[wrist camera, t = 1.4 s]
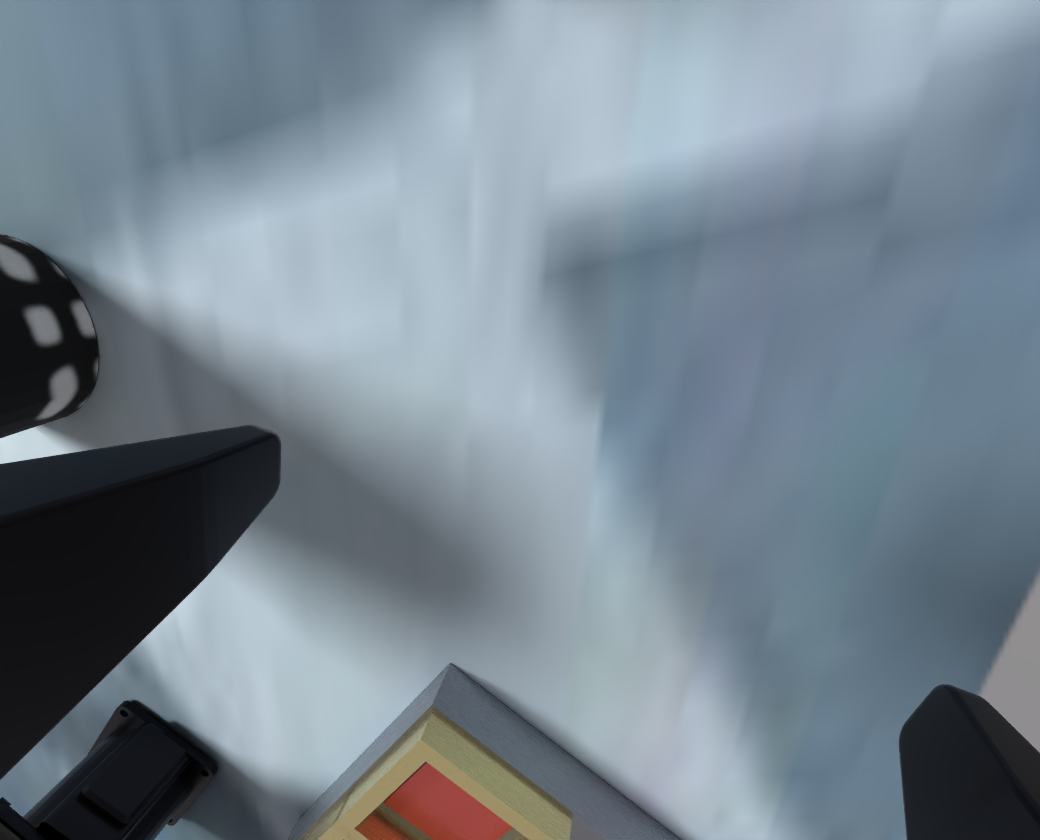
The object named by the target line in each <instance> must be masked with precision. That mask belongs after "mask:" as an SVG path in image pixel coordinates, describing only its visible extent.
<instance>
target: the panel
mask: <svg viewBox="0 0 1040 840" xmlns="http://www.w3.org/2000/svg"><path fill="white" fill-rule="evenodd" d="M287 840H680V839H678V838H677V837H676V836H675V835H673V834H672V833H671V832H669V831H668V830H667V829H665V828H664V827H663V826H662V825H660V824H659V823H658V822H656V821H655V820H654V819H652V818H651V817H650V816H649V815H647V814H646V813H645V812H643V811H642V810H641V809H639V808H638V807H637V806H636V805H634V804H633V803H632V802H630V801H629V800H628V799H626V798H625V797H624V796H622V795H621V794H620V793H619V792H617V791H616V790H615V789H613V788H612V787H611V786H609V785H608V784H607V783H606V782H604V781H603V780H602V779H600V778H599V777H598V776H596V775H595V774H594V773H593V772H591V771H590V770H589V769H587V768H586V767H585V766H583V765H582V764H581V763H580V762H578V761H577V760H576V759H574V758H573V757H572V756H570V755H569V754H568V753H566V752H565V751H564V750H563V749H561V748H560V747H559V746H557V745H556V744H555V743H553V742H552V741H551V740H550V739H548V738H547V737H546V736H544V735H543V734H542V733H540V732H539V731H538V730H537V729H535V728H534V727H533V726H531V725H530V724H529V723H527V722H526V721H525V720H523V719H522V718H521V717H520V716H518V715H517V714H516V713H514V712H513V711H512V710H510V709H509V708H508V707H507V706H505V705H504V704H503V703H501V702H500V701H499V700H497V699H496V698H495V697H494V696H492V695H491V694H490V693H488V692H487V691H486V690H484V689H483V688H482V687H481V686H479V685H478V684H477V683H475V682H474V681H473V680H471V679H470V678H469V677H467V676H466V675H465V674H464V673H462V672H461V671H460V670H458V669H457V668H456V667H454V666H453V665H452V664H451V663H450V664H449V665H448V666H447V667H446V668H445V669H444V670H443V671H442V672H441V673H440V674H439V675H438V677H437V678H436V679H435V680H434V681H433V682H432V683H431V684H430V685H429V686H428V687H427V688H426V689H425V690H424V691H423V692H422V693H421V694H420V695H419V696H418V697H417V698H416V699H415V700H414V701H413V702H412V703H411V704H410V705H409V706H408V707H407V708H406V709H405V710H404V711H403V712H402V714H401V715H400V716H399V717H398V718H397V719H396V720H395V721H394V722H393V723H392V724H391V725H390V726H389V727H388V728H387V729H386V730H385V731H384V732H383V733H382V734H381V735H380V736H379V737H378V738H377V739H376V740H375V741H374V742H373V743H372V744H371V745H370V746H369V747H368V748H367V750H366V751H365V752H364V753H363V754H362V755H361V756H360V757H359V758H358V759H357V760H356V761H355V762H354V763H353V764H352V765H351V766H350V767H349V768H348V769H347V770H346V771H345V772H344V773H343V774H342V775H341V776H340V777H339V778H338V779H337V780H336V781H335V782H334V783H333V784H332V786H331V787H330V788H329V789H328V790H327V791H326V792H325V793H324V794H323V795H322V796H321V797H320V798H319V799H318V800H317V801H316V802H315V803H314V804H313V805H312V806H311V807H310V808H309V809H308V810H307V811H306V812H305V813H304V814H303V815H302V816H301V817H300V819H299V820H298V822H297V824H296V825H295V827H294V829H293V831H292V832H291V834H290V836H289V838H288V839H287Z"/></svg>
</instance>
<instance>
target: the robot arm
mask: <svg viewBox="0 0 1040 840" xmlns="http://www.w3.org/2000/svg"><path fill="white" fill-rule="evenodd" d="M280 470H281V441H280V438H279V436H278V435H277V434H276V433H274V432H272V431H269V430H266V429H264V428H261V427H258V426H255V425H246V426H239V427H233V428H227V429H220V430H214V431H208V432H201V433H195V434H189V435H182V436H176V437H170V438H163V439H157V440H151V441H144V442H138V443H132V444H125V445H119V446H113V447H106V448H100V449H94V450H87V451H81V452H75V453H68V454H62V455H56V456H49V457H43V458H37V459H30V460H24V461H18V462H11V463H5V464H0V780H1V779H2V778H3V777H4V776H5V775H6V774H7V773H8V772H9V771H10V770H11V769H12V768H13V767H14V766H15V765H16V764H17V763H18V762H19V761H20V760H21V759H22V758H23V757H24V756H25V755H26V754H27V753H28V752H29V751H30V750H31V749H32V748H33V747H34V746H35V745H36V744H37V743H38V742H39V741H40V740H41V739H42V738H43V737H44V736H45V735H46V734H47V733H49V732H50V731H51V730H52V729H53V728H54V727H55V726H56V725H57V724H58V723H59V722H60V721H61V720H62V719H63V718H64V717H65V716H66V715H67V714H68V713H69V712H70V711H71V710H72V709H73V708H74V707H75V706H76V705H77V704H78V703H79V702H80V701H81V700H82V699H83V698H84V697H85V696H86V695H87V694H88V693H89V692H90V691H91V690H92V689H93V688H94V687H95V686H96V685H97V684H98V683H99V682H100V681H101V680H102V679H103V678H104V677H105V676H106V675H108V674H109V673H110V672H111V671H112V670H113V669H114V668H115V667H116V666H117V665H118V664H119V663H120V662H121V661H122V660H123V659H124V658H125V657H126V656H127V655H128V654H129V653H130V652H131V651H132V650H133V649H134V648H135V647H136V646H137V645H138V644H139V643H140V642H141V641H142V640H143V639H144V638H145V637H146V636H147V635H148V634H149V633H150V632H151V631H152V630H153V629H154V628H155V627H156V626H157V625H158V624H159V623H160V622H161V621H162V620H163V619H164V618H165V617H166V616H168V615H169V614H170V613H171V612H172V611H173V610H174V609H175V608H176V607H177V606H178V605H179V604H180V603H181V602H182V601H183V600H184V599H185V598H186V597H187V596H188V595H189V594H190V593H191V592H192V591H193V590H194V589H195V588H196V587H197V586H198V585H199V584H200V583H201V582H202V581H203V580H204V579H205V578H206V577H207V575H208V574H209V573H210V572H211V571H212V570H213V569H214V568H215V566H216V565H217V564H218V563H219V562H220V561H221V559H222V558H223V557H224V556H225V555H226V553H227V552H228V551H229V550H230V549H231V547H232V546H233V545H234V544H235V543H236V541H237V540H238V539H239V538H240V537H241V535H242V534H243V533H244V532H245V531H246V529H247V528H248V527H249V526H250V525H251V523H252V522H253V521H254V520H255V519H256V517H257V516H258V515H259V514H260V513H261V511H262V510H263V509H264V508H265V507H266V505H267V504H268V503H269V502H270V501H271V499H272V498H273V497H274V495H275V494H276V492H277V490H278V487H279V484H280ZM899 753H900V765H901V777H902V789H903V801H904V813H905V825H906V837H907V840H1040V753H1039V752H1038V751H1037V750H1036V749H1035V748H1034V747H1033V746H1032V745H1031V744H1030V743H1029V742H1028V741H1027V740H1026V739H1025V738H1024V737H1023V736H1022V735H1021V734H1020V733H1019V732H1018V731H1017V730H1016V729H1015V728H1014V727H1013V726H1012V725H1011V724H1010V723H1009V722H1008V721H1007V720H1006V719H1005V718H1004V717H1003V716H1002V715H1001V714H1000V713H999V712H998V711H997V710H996V709H994V708H993V707H992V706H991V705H990V704H989V703H988V702H987V701H986V700H985V699H983V698H982V697H980V696H978V695H975V694H973V693H970V692H967V691H965V690H962V689H959V688H957V687H954V686H951V685H939V686H937V687H935V688H934V689H933V690H932V691H931V692H930V694H929V695H928V696H927V697H926V698H925V699H924V701H923V702H922V703H921V704H920V705H919V707H918V708H917V709H916V710H915V711H914V713H913V714H912V715H911V716H910V717H909V719H908V720H907V721H906V722H905V724H904V725H903V727H902V730H901V733H900V737H899ZM217 771H218V768H217V766H216V765H215V764H214V763H213V762H212V761H211V760H209V759H208V758H207V757H205V756H204V755H203V754H201V753H200V752H199V751H197V750H196V749H194V748H193V747H192V746H190V745H189V744H188V743H186V742H185V741H184V740H182V739H181V738H180V737H178V736H177V735H176V734H174V733H173V732H172V731H170V730H169V729H168V728H166V727H165V726H163V725H162V724H161V723H159V722H158V721H157V720H155V719H154V718H153V717H151V716H150V715H149V714H147V713H146V712H145V711H143V710H142V709H141V708H139V707H138V706H137V705H135V704H134V703H132V702H130V701H124V702H123V703H122V704H121V705H120V706H119V707H117V709H116V710H115V712H114V713H113V715H112V717H111V718H110V720H109V721H108V723H107V725H106V726H105V728H104V729H103V731H102V733H101V734H100V736H99V737H98V739H97V741H96V742H95V744H94V745H93V747H92V749H91V750H90V752H89V753H88V755H87V756H86V757H85V758H84V759H83V760H82V761H81V762H80V763H79V764H78V765H77V766H76V767H75V768H74V769H73V770H72V771H71V772H70V773H69V774H68V775H66V776H65V777H64V778H63V779H62V780H61V781H60V782H59V783H58V784H57V785H56V786H55V787H54V788H53V789H52V790H51V791H50V792H49V793H48V794H47V795H46V796H44V797H43V798H42V799H41V800H40V801H39V802H38V803H37V804H36V805H35V806H34V807H33V808H32V809H31V810H30V811H29V812H28V813H27V814H26V815H25V816H23V817H22V816H20V815H19V814H18V813H17V812H16V811H15V810H13V809H12V808H11V807H10V805H11V804H10V803H9V802H8V801H7V800H6V799H5V798H3V797H2V798H1V799H0V840H154V839H155V838H156V837H157V835H158V834H159V833H160V832H161V830H162V829H163V828H164V827H165V825H166V824H168V825H175V824H176V823H177V821H178V820H179V819H180V818H181V816H182V815H183V814H184V813H185V811H186V810H187V809H188V808H189V806H190V805H191V804H192V803H193V802H194V800H195V799H196V798H197V797H198V795H199V794H200V793H201V792H202V790H203V789H204V788H205V787H206V785H207V784H208V783H209V782H210V780H211V779H212V778H213V777H214V775H215V774H216V773H217Z"/></svg>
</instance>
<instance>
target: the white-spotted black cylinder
mask: <svg viewBox="0 0 1040 840" xmlns="http://www.w3.org/2000/svg"><path fill="white" fill-rule="evenodd" d="M98 359H99V354H98V346H97V339H96V334H95V331H94V328H93V324H92V321H91V318H90V316H89V313H88V311H87V309H86V307H85V305H84V303H83V301H82V299H81V297H80V296H79V294H78V292H77V291H76V289H75V288H74V286H73V285H72V283H71V282H70V280H69V279H68V278H67V277H66V276H65V275H64V274H63V272H62V271H61V270H60V269H59V268H58V267H57V265H55V264H54V263H53V262H52V261H51V260H50V259H48V258H47V257H46V256H45V255H44V254H43V253H41V252H40V251H38V250H37V249H35V248H33V247H32V246H30V245H28V244H27V243H25V242H23V241H20V240H18V239H15V238H13V237H10V236H7V235H0V438H2V437H5V436H8V435H11V434H14V433H17V432H21V431H24V430H27V429H30V428H33V427H36V426H39V425H42V424H45V423H48V422H51V421H54V420H57V419H60V418H63V417H66V416H68V415H70V414H71V413H73V412H75V411H77V410H78V409H79V408H80V407H81V406H82V405H83V404H84V403H85V402H86V401H87V400H88V398H89V396H90V394H91V392H92V390H93V388H94V385H95V382H96V378H97V374H98Z"/></svg>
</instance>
